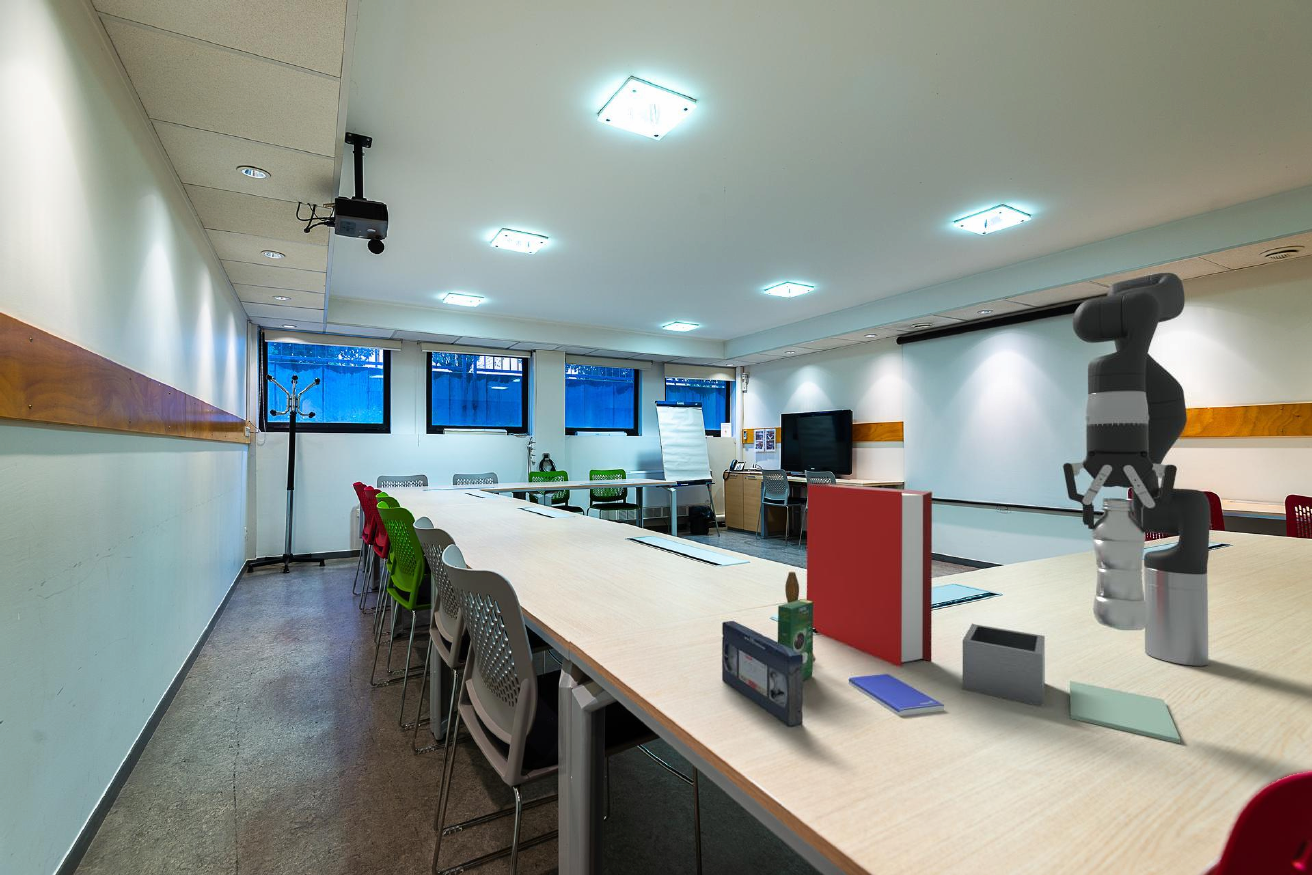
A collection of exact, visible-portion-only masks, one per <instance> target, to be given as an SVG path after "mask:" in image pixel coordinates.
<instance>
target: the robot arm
mask: <svg viewBox="0 0 1312 875" xmlns="http://www.w3.org/2000/svg"><path fill="white" fill-rule="evenodd" d="M1106 295H1107V296H1101V297H1096V298H1095V297H1094V298H1091V299H1088V300H1085V301H1083V302H1082V303H1080V305H1079V306H1078V307H1077V308H1076V310H1075V312H1074V314H1073V318H1072V329H1073V331H1074V333H1075V335H1076V336H1077V337H1078V339H1080V340H1081V341H1083V342H1086V343H1090V344H1092V343H1093V344H1095V343H1096V344H1097V343H1105V342H1114V347H1115V352H1112V353H1110V354H1106V355H1102V356H1099V357H1098V356H1097V357H1096V358H1093V359H1091V361H1089V363H1088V366H1087V367H1088V368H1087V402H1086V410H1085V415H1086V416H1085V421H1086V422H1085V423H1086V425H1085V428H1086V429H1085V430H1086V432H1085V433H1086V435H1085V436H1086V437H1085V438H1086V440H1085V441H1086V445H1085V446H1086V456H1085V458H1084V459H1083V461H1081V462H1072V463H1070V462H1065V463H1064V464H1063V465H1062V468H1063V474H1064V479H1065V485H1066V486H1065V487H1066V490H1067V496H1068V499H1070V500H1071V501H1075V502H1078V503H1080V504H1081V506H1082V522H1083V525H1085V526H1087V529H1088V530H1092V529H1094V524H1095V505H1094V504H1093V501H1094V500H1095V498H1096V497H1097V495H1098V493H1099V492H1100V490H1101V488H1102V487H1104V488H1115V487H1120V488H1125V489H1127V488H1128V489H1130V488H1131V499H1132V500H1133V508H1134V511H1133V512H1132V513H1133V514H1132V515H1133V517H1134V518H1135V519H1136V521H1137V522H1138V523H1139V524H1140V525H1141V527H1142V528H1143V532H1144V533H1145V534H1149V533H1153V534H1160V535H1170V536H1179V537H1178V542H1177V543H1176V544H1175V545H1173V546H1171V547H1167V548H1164V549H1159V550H1152V551H1151V550H1150V551H1147V552H1146V553H1145V554H1144V555H1143V568H1144V569H1143V570H1144V571H1143V573H1144V575H1143V576H1144V577H1143V578H1144V580H1143V581H1144V601H1145V602H1146V605H1147V609H1148V615H1149V617H1148V623H1147V626H1146V627H1145V628H1144V652H1145V653H1146V655H1148V656H1150V657H1153V658H1156V659H1159V660H1162V661H1164V662H1169V663H1173V664H1174V663H1175V664H1181V665H1188V666H1197V667H1199V666H1200V667H1201V666H1206V665H1209V603H1208V602H1209V599H1208V598H1209V597H1208V595H1209V594H1208V591H1209V590H1208V564H1209V563H1208V562H1209V555H1210V553H1209V552H1210V549H1209V547H1210V546H1209V544H1210V529H1211V528H1210V527H1211V505H1210V501H1209V498H1208V497H1207V494H1206V493H1204V492H1203V491H1202V490H1200V489H1191V488H1175V483H1176V482H1175V481H1176V475H1177V470H1178V469H1177V468H1178V467H1177V466H1176V465H1174V464H1162V463H1163V461H1164V459H1165V457H1166V456H1167V454H1168V453H1169V451H1171V448H1172V447H1173V446H1174V444H1175V443H1176V442H1177V441H1178V439H1180V438H1179V437H1180V436H1181V435H1182V433H1183V431H1184V429H1185V427H1186V425H1187V422H1188V421H1187V420H1188V417H1187V414H1188V413H1187V407H1186V406H1187V405H1186V399H1185V391H1184V389H1183V386H1182V384H1181V383H1180V382H1179V381H1178V380H1177V379H1176V378H1175V377H1174V376H1173V375H1172V374H1171V373H1170V372H1169V370H1167V369H1166V368H1165V367H1163V366H1162V365H1161V364H1160V363H1159V362H1158V361H1156V359H1154V358H1153V357H1152V356H1151V355H1150V354H1149V350H1150V346H1151V343H1152V340H1153V338H1154V335H1155V332H1156V329H1157V327H1158V324H1159V323H1164V322H1167V321H1171V320H1173V319H1175V318H1177V317H1180V315H1181V314H1182V312H1183V310H1184V308H1185V302H1186V300H1185V289H1184V285H1183V282H1182V280H1181V278H1180V277H1179V276H1178V275H1177V274H1175V273H1173V272H1160V273H1154V274H1149V275H1145V276H1139V277H1135V278H1131V279H1126V280H1122V281H1118V282H1115V283H1113V284H1110V286H1109V287H1108V290H1107V293H1106ZM1081 469H1084V470H1085V471H1086V472H1087V473H1088V475H1090V477H1091V478H1092V479H1093V480H1092V481H1091V483H1090V484H1089V487H1088V489H1087V490H1086V492H1085V493H1084V495H1083V494H1081V493H1078V489H1077V485H1076V479H1075V477H1076V476H1077V477H1078V476H1079V475H1080V471H1081ZM1159 479H1161V482H1160V484H1159Z"/></svg>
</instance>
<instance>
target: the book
mask: <svg viewBox="0 0 1312 875" xmlns="http://www.w3.org/2000/svg"><path fill="white" fill-rule="evenodd" d="M806 514H807V517H806V519H807V520H806V521H807V525H806V527H807V528H806V530H807V531H806V533H807V534H806V536H807V537H806V543H807V544H806V550H807V551H806V600H809V601H813V628H815V629H816V631H817V632H816V633H818V634H819V635H820V634H821V635H823V636H825V637H828V638H829V639H832V640H834V641H837V642H839V643H841V644H844V645H846V646H849V647H851V648H854V649H856V650H858V651H860V652H863V653H865V654H867V655H870V656H872V657H874V658H877V659H880V660H882V661H884V662H887V663H889V664H890V665H891V664H892V666H893V665H894V666H896V667H898V668H902V663H905V662H911V661H915V660H920V659H923V660H926V661H928V662H932V622H933V621H932V617H933V616H932V615H933V612H932V611H933V609H932V607H933V605H932V602H933V600H932V599H933V598H932V597H933V596H932V595H933V594H932V592H933V591H932V590H933V589H932V588H933V586H932V584H933V583H932V580H933V579H932V575H933V574H932V571H933V570H932V569H933V563H932V562H933V560H932V559H933V558H932V557H933V553H932V552H933V549H932V547H933V540H932V539H933V538H932V537H933V533H932V532H933V530H932V528H933V525H932V524H933V516H932V515H933V492H932V491H926V490H916V489H915V490H913V489H899V488H886V487H885V488H884V487H874V486H873V487H872V486H861V485H860V486H859V485H846V484H833V483H832V484H831V483H828V484H827V483H826V484H825V483H821V484H819V483H818V484H817V483H816V484H812V483H811V484H807V513H806Z"/></svg>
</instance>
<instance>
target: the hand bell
mask: <svg viewBox="0 0 1312 875" xmlns="http://www.w3.org/2000/svg"><path fill="white" fill-rule="evenodd" d="M784 587H785V589H784V590H785V597H786V601H787V603H790V602H793V601H796V600H799V597H800V596H799V595H800V584H799V580H798V578H797V574H796V571H789V572H788V574H787V577H786V580H785V586H784ZM815 658H816V657H815V654H814V653H813V661H815Z"/></svg>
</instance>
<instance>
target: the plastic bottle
mask: <svg viewBox="0 0 1312 875" xmlns="http://www.w3.org/2000/svg"><path fill="white" fill-rule="evenodd" d="M1101 511H1103V514H1102V515H1101V516H1100V517H1099V518H1098V520H1097V521H1096V522H1094V529H1091V537H1092V543H1093V548H1094V549H1093V550H1094V553H1095V563H1096V566H1097V567H1096V575H1097V577H1096V589H1095V590H1096V591H1095V595H1094V599H1093V606H1092V607H1093V608H1092V610H1093V614H1094V618H1095V619H1096V621H1097V622H1098V623H1099V624H1100V625H1102V626H1106V627H1107V628H1108V627H1109V628H1110V629H1111V628H1112V629H1115V630H1119V631H1143V630H1145V627H1146V626H1147V623H1148V617H1149V615H1148V609H1147V605H1146V602H1145V591H1144V586H1143V571H1142V570H1143V559H1144V550H1145V545H1146V544H1145V543H1146V533H1144V532H1143V528H1142V527H1141V525H1140V524H1139V523H1138V522H1137V521H1136V519H1135V518H1134V515H1133V514H1132V513H1133V511H1134V508H1133V500H1132V498H1114V497H1113V498H1112V497H1103V498H1102V506H1101Z"/></svg>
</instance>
